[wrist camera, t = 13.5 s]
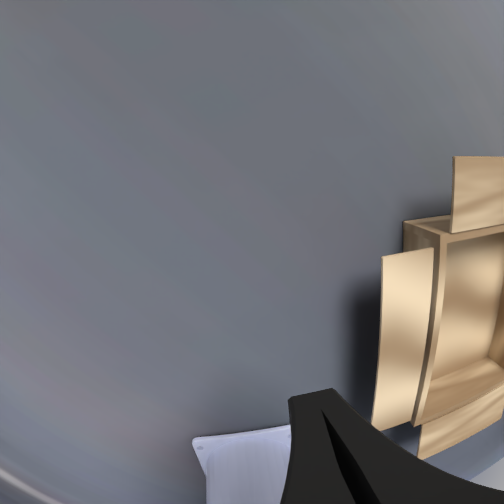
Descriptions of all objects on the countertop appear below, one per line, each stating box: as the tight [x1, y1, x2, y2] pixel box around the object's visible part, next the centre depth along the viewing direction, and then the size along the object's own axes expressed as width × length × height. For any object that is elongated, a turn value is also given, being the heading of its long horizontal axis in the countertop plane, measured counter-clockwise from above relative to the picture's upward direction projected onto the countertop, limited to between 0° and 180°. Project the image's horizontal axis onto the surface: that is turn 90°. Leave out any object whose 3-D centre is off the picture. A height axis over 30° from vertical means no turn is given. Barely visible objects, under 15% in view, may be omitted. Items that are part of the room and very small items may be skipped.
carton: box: [371, 215, 504, 431], centre depth 19 cm, size 14×18×4 cm
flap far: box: [416, 384, 504, 460], centre depth 19 cm, size 1×10×4 cm
